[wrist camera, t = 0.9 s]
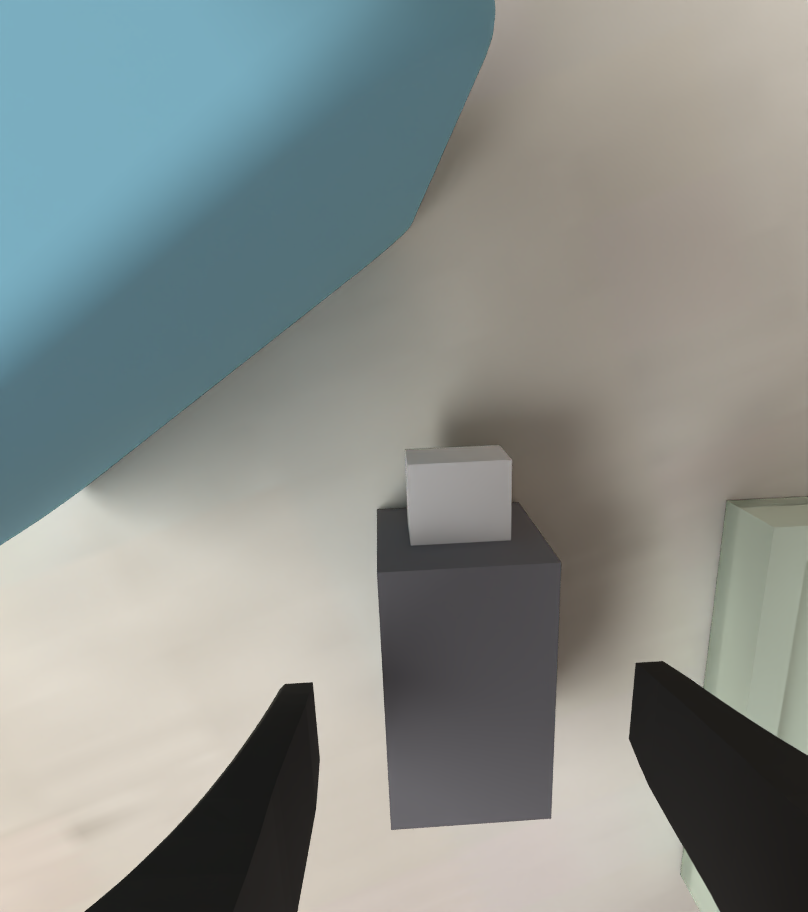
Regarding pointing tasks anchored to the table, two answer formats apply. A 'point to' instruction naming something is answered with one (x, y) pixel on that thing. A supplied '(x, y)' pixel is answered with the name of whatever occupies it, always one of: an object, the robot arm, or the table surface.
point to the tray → (760, 628)
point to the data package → (194, 198)
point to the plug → (466, 644)
